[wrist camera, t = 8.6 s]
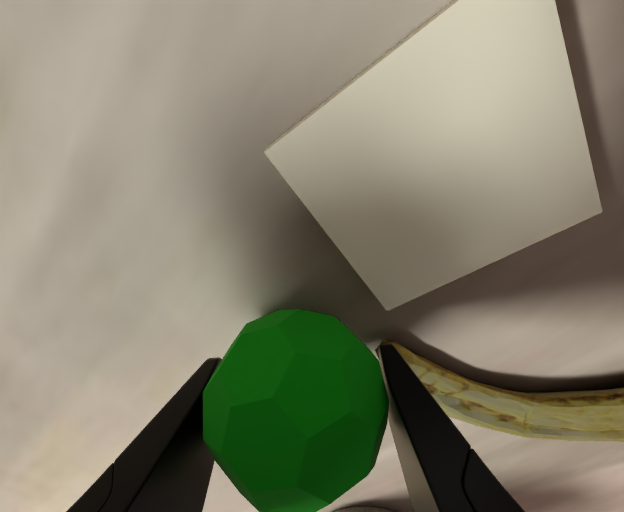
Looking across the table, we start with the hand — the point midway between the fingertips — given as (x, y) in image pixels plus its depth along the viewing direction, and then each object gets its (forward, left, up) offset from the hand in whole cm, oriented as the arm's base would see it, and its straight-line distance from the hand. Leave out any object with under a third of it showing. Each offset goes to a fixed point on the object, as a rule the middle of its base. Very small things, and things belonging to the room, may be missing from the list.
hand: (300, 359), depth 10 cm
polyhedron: (0, 0, -1) cm, 1 cm away
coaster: (-2, +6, -2) cm, 7 cm away
